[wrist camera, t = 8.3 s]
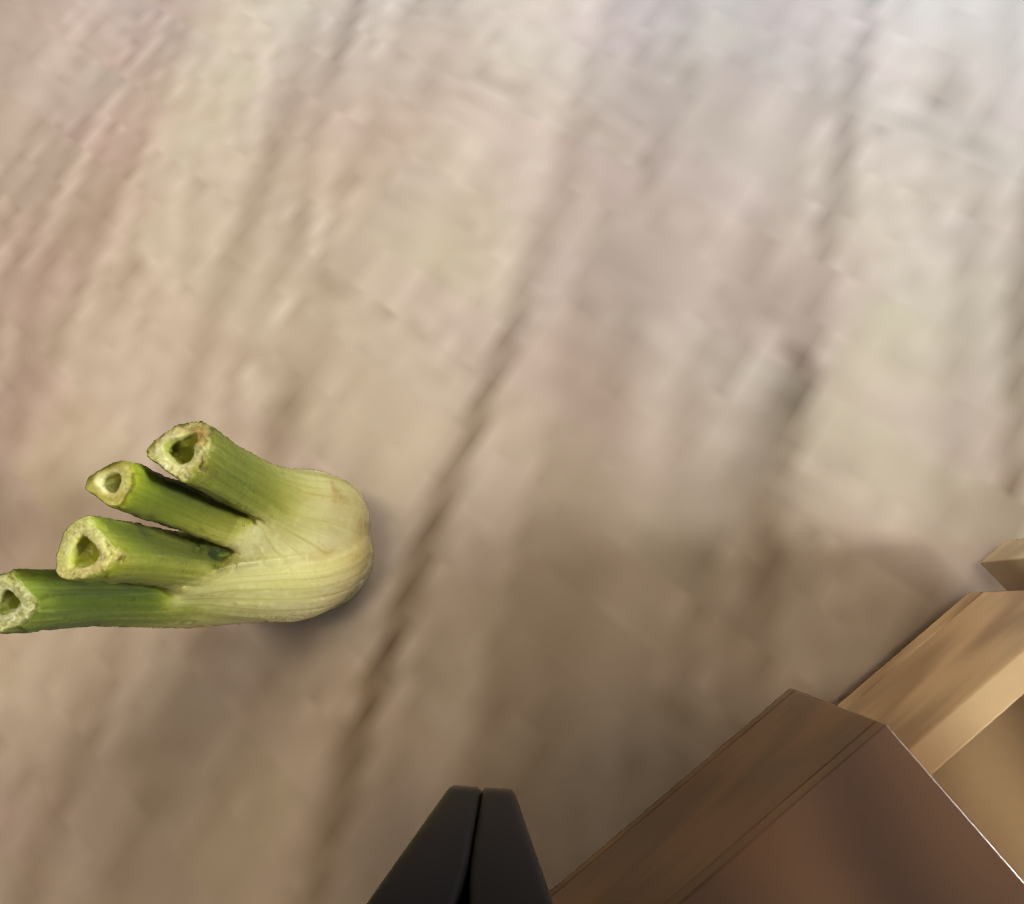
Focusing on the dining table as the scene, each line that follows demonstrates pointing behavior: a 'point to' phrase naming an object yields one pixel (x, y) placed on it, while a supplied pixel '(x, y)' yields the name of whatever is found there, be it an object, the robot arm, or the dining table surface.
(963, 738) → the drawer
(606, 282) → the dining table surface
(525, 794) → the dining table surface
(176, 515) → the fennel bulb
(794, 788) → the cabinet
